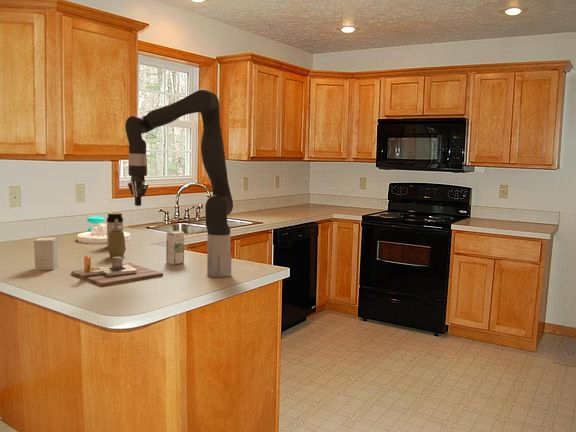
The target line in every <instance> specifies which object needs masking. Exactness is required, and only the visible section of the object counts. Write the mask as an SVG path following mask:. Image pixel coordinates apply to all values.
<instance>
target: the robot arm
mask: <svg viewBox="0 0 576 432" xmlns="http://www.w3.org/2000/svg"><path fill="white" fill-rule="evenodd" d="M196 113H200V115H201V120H202V129H203V130H202V136H201V141H200V152H201V158H202V164H203V167H204V169H205V172H206V173H207V176H208V178H209V180H210V183H211V189H212V195H211V196H209V198H207V200H206V202H205V207H204V208H205V211H204V212H205V214H204V215H205V226H206V229H207V240H206V242H207V246H206V248H207V249H206V251H207V259H206V260H207V261H206V263H207V264H206V267H207V268H206V270H207V271H206V273H207V274H206V275H207V277H211V278H219V279H221V278H227V277H231V276H232V256H233V255H232V252H231V227H230V226H229V224H228V216H229V215H230V214H231V213H232V212H233V207H234V201H233V197H232V196H233V195H232V193H231V190H230V185H229V178H228V170H227V161H226V154H225V146H224V141H223V136H222V135H223V134H222V128H221V117H220V113H221V112H220V101H219V98H218V95H216V94H215V92H213V91H210V90H208V89H204V88H202V89H198V90H196V91H194V92H192V93H190V94H189V95H186V96H185V97H183V98H182V99H180V100H177V101H175V102H173V103H170V104H167V105H164V106H161V107H159V108H155V109H153V110H151V111H148V113H147V114H146V115H143V116H137V115H130V116H129V117H127V119H126V121H125V124H124V125H125V134H126V137H127V141H128V165H127V166H128V167H127V168H128V176H129V177H131V178H130V182H128V183H127V186H128V189H129V191H130V194H131V195H132V196H133V197H134V207H135V206H136V207H140V206H142V198H143V196H145V195H146V192H147V190H148V188H149V184H147V183H146V179H145V177H147V176H148V157H147V142H146V140H144V139H143V136H142V134H143V135H144V134H145V133H149V132H151V131H152V130H154V129H156V128H159V127H163V126H165V125H168V124H171V123H172V122H174V121H176V120H178V119H179V118H181V117H184V116H186V115H190V114H196Z"/></svg>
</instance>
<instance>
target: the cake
mask: <svg viewBox="0 0 576 432" xmlns="http://www.w3.org/2000/svg"><path fill="white" fill-rule="evenodd" d="M91 228H93V226H92V227H91ZM91 231H92V232H87V231H86V232H81V233H78V234H77V242H79V243H83V244H92V245H93V244H94V245H97V244H98V245H99V244H101V245H102V244H104V245H105V244H106V243H107V222H106V223H104V222H102V223H97V226H94V228H93V229H91ZM123 232H124V238H125V242H128V241H130V240H131V234H130V232H126V231H123ZM106 245H107V244H106Z"/></svg>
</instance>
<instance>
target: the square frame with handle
mask: <svg viewBox="0 0 576 432" xmlns="http://www.w3.org/2000/svg"><path fill="white" fill-rule="evenodd" d="M91 258H92V257H91V256H90V255H84V257H83V270H84V271H83V275H84V276H89V275H98V274H104V275H106V276H113V275H122V274H131V273H137V270H136V269H135V268H133V267H131V266H129V265H127V264H126V263H125V264H126V265H122V270H115V271H112V265H107V267H105V266H97V268H98V270H92V271H91V266H92V261H91V260H92V259H91Z"/></svg>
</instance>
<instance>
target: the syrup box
mask: <svg viewBox="0 0 576 432" xmlns="http://www.w3.org/2000/svg"><path fill="white" fill-rule="evenodd" d="M165 254H166V256H165V257H166V258H165V260H166V261H165V262H166V264H169V265H175V264H176V265H181V263H182V264H185V232H184V231H182V230H172V231H166V253H165Z"/></svg>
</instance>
